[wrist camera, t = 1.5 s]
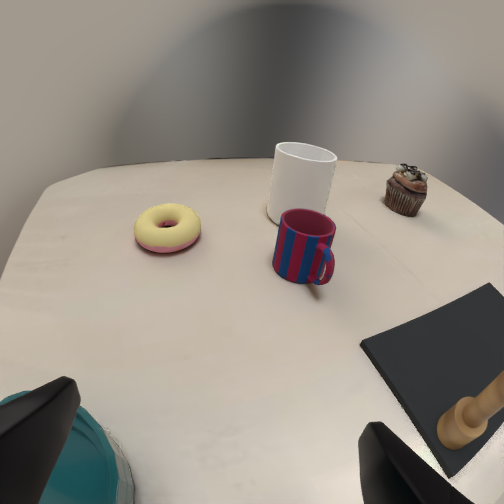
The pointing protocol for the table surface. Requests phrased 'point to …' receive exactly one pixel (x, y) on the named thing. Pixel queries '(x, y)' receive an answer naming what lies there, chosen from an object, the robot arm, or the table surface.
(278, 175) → the mug
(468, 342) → the mat
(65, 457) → the bowl
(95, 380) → the table surface
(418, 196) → the cupcake
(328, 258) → the cup
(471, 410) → the stick
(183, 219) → the donut
